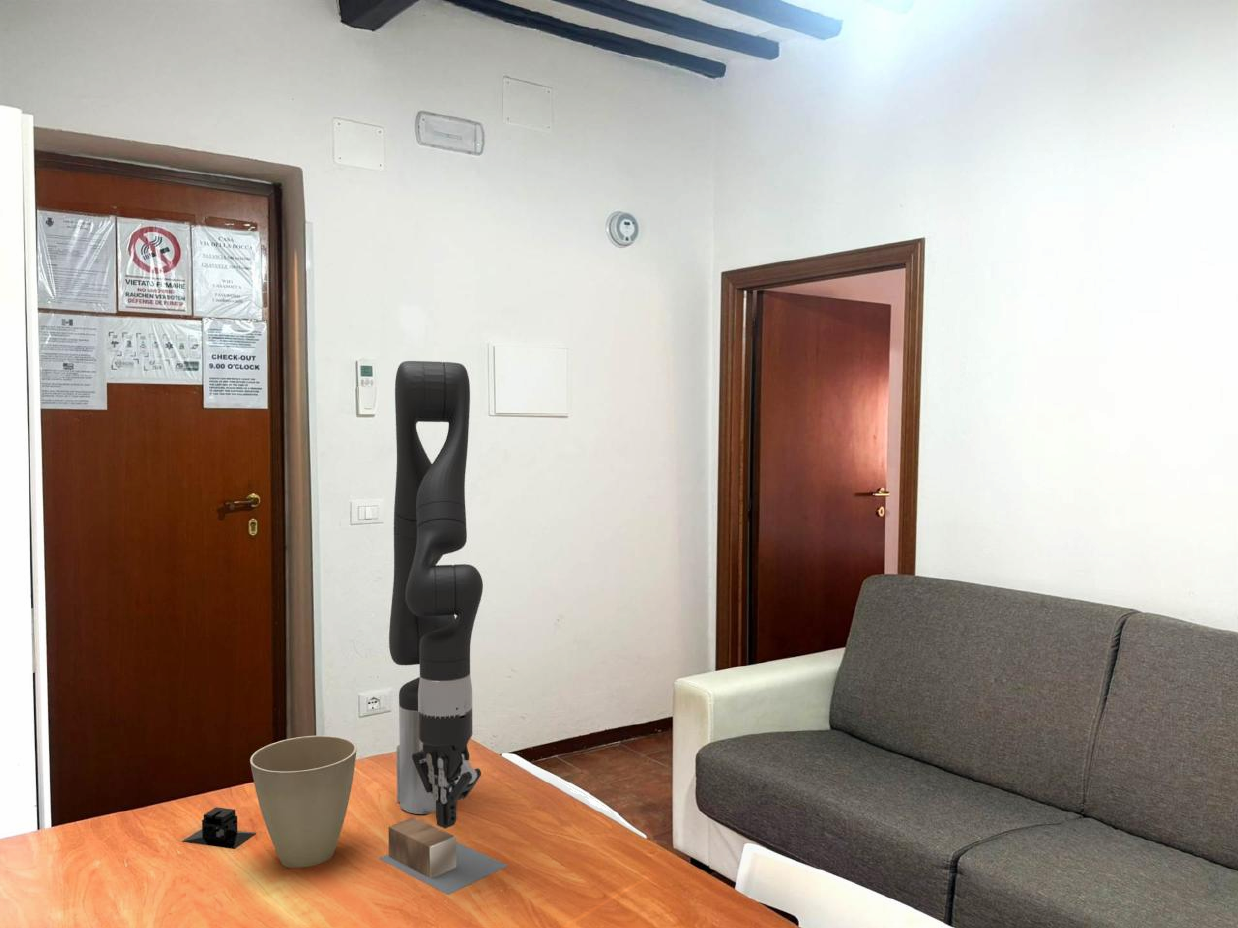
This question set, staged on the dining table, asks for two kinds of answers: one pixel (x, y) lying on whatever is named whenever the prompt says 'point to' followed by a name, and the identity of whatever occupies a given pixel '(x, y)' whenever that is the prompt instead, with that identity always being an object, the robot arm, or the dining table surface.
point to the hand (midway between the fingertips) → (446, 825)
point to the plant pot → (304, 795)
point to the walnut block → (422, 847)
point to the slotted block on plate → (220, 830)
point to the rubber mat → (456, 870)
